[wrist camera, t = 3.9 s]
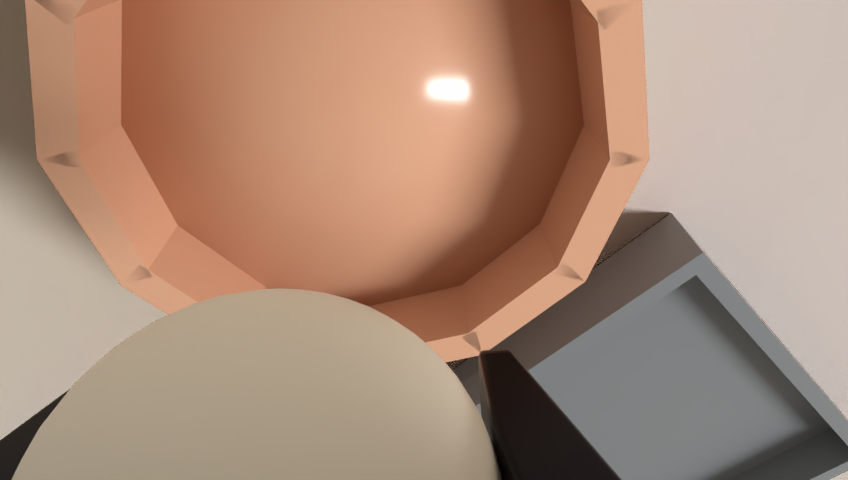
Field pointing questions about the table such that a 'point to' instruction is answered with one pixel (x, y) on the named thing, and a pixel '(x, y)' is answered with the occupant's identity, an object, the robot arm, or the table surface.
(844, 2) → the table surface
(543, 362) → the tray
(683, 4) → the table surface
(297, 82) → the bowl
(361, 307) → the ball
